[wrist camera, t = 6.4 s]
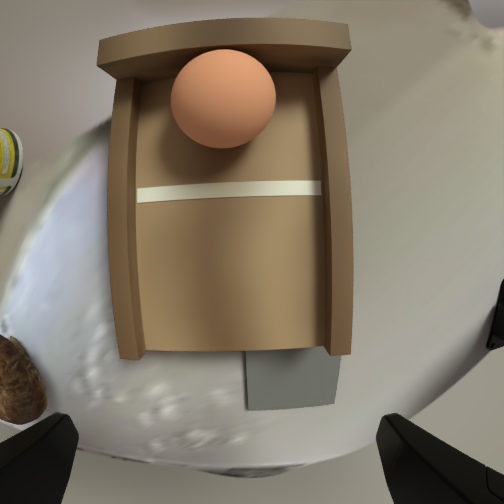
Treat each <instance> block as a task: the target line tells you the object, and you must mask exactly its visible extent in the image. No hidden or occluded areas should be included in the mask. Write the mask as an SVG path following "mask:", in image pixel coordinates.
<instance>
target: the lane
mask: <svg viewBox="0 0 504 504" xmlns="http://www.w3.org/2000/svg"><path fill="white" fill-rule="evenodd" d="M222 49H227V50H235V51H239V52H243V53H245V54H247V55H250V56H251V57H253V58H255V59H256V60H257V61H259V62H260V63H261V64H262V65H263V66H264V67H265V69H266V70H267V71H268V73H269V74H270V76H271V78H272V81H273V83H274V87H275V92H276V103H275V109H274V112H273V115H272V117H271V120H270V122H269V123H268V125H267V126H266V127H265V129H264V130H263V131H262V132H261V133H260V134H259V135H258V136H256V137H255V138H254V139H252V140H251V141H249V142H247V143H245V144H242V145H239V146H236V147H232V148H213V147H208V146H205V145H202V144H200V143H197V142H196V141H194V140H192V139H191V138H190V137H188V136H187V135H186V134H185V133H184V132H183V131H182V130H181V128H180V127H179V126H178V124H177V122H176V121H175V118H174V116H173V112H172V108H171V92H172V87H173V85H174V82H175V79H176V78H177V76H178V74H179V73H180V71H181V70H182V69H183V68H184V66H186V65H187V64H188V63H189V62H190V61H191V60H193V59H194V58H196V57H197V56H199V55H201V54H204V53H206V52H210V51H214V50H222ZM351 50H352V49H351V42H350V35H349V29H348V24H343V23H335V22H327V21H317V20H306V19H290V18H231V19H216V20H204V21H194V22H186V23H178V24H171V25H165V26H159V27H154V28H148V29H143V30H138V31H134V32H130V33H125V34H121V35H117V36H113V37H109V38H105V39H102V40H100V41H99V49H98V57H97V66H98V67H99V68H101V69H102V70H104V71H105V72H107V73H108V74H109V75H111V76H112V77H113V78H115V79H116V80H117V81H116V89H115V96H114V103H113V112H112V121H111V132H110V145H109V162H108V194H107V218H108V250H109V268H110V281H111V292H112V302H113V311H114V319H115V327H116V334H117V341H118V348H119V354H120V359H128V360H140V358H141V357H142V356H143V355H144V354H145V353H146V351H147V350H161V351H252V350H275V349H292V348H306V347H318V346H324V348H325V349H326V351H327V352H328V354H329V355H330V356H340V355H348V354H351V339H352V317H353V224H352V202H351V186H350V172H349V160H348V149H347V140H346V131H345V122H344V114H343V107H342V99H341V92H340V86H339V79H338V73H337V68H336V67H337V66H338V65H339V64H340V63H341V62H342V60H343V59H344V58H345V57H346V56H347V55H348V53H349V52H350V51H351Z"/></svg>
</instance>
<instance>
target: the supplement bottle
mask: <svg viewBox="0 0 504 504" xmlns="http://www.w3.org/2000/svg"><path fill="white" fill-rule="evenodd" d="M22 165H23V149H22V144H21V141H20V139H19V137H18V136H17V134H16V133H14V132H13V131H11V130H8V129H3V128H0V197H1V196H4V195H6V194H8V193H9V192H10V191H11V190H12V189H13V188H14V187H15V185H16V183H17V181H18V179H19V176H20V173H21V170H22Z"/></svg>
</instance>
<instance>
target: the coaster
mask: <svg viewBox="0 0 504 504" xmlns="http://www.w3.org/2000/svg"><path fill="white" fill-rule="evenodd" d="M340 360H341V355H340V356H330V355H329V354H328V352H327V351H326V349H325V348H324V346H318V347H306V348H292V349H275V350H252V351H246V371H247V390H248V409H249V411H253V410H274V409H289V408H301V407H311V406H320V405H328V404H334V402H335V396H336V389H337V382H338V375H339V368H340Z"/></svg>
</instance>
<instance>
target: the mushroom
mask: <svg viewBox="0 0 504 504" xmlns="http://www.w3.org/2000/svg"><path fill="white" fill-rule="evenodd" d="M46 407H47V396H46V387H45V385H44V383H43V380H42V378H41V376H40V373H39V371H38V370H37V369H36V367H35V366H34V365H33V364H32V362H31V360H30V359H29V357H28V355H27V354H26V352H25V350H24V349H23V348H22V346H21V345H20V344H19V342H18V341H17V340H16V339H15V338H14V337H12V336H10V339H9V340H8V339H7V338H5V337H3V336H2V335H0V419H1V420H4V421H6V422H9V423H13V424H17V425H22V424H26V423H29V422H31V421H34V420H36V419H37V418H39V417H40V416H41V414H42V413H43V412H44V411H45V409H46Z"/></svg>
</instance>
